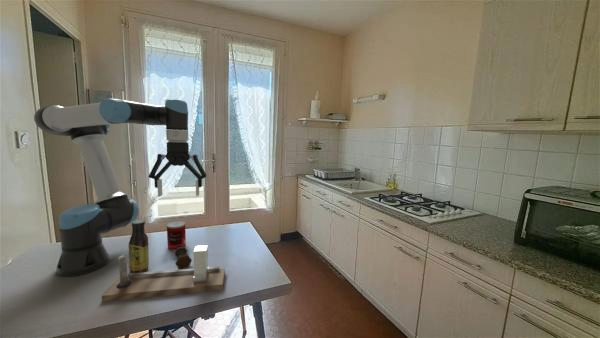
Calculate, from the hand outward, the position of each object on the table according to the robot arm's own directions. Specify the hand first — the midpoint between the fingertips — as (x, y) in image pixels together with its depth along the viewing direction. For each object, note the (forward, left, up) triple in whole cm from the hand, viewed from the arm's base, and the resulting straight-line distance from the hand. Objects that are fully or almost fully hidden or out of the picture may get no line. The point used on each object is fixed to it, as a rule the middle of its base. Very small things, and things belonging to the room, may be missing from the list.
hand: (179, 195), depth 94 cm
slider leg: (+10, -15, -26) cm, 32 cm away
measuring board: (0, -15, -29) cm, 32 cm away
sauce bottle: (-14, -3, -29) cm, 32 cm away
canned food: (-6, +17, -29) cm, 34 cm away
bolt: (0, +4, -29) cm, 29 cm away
